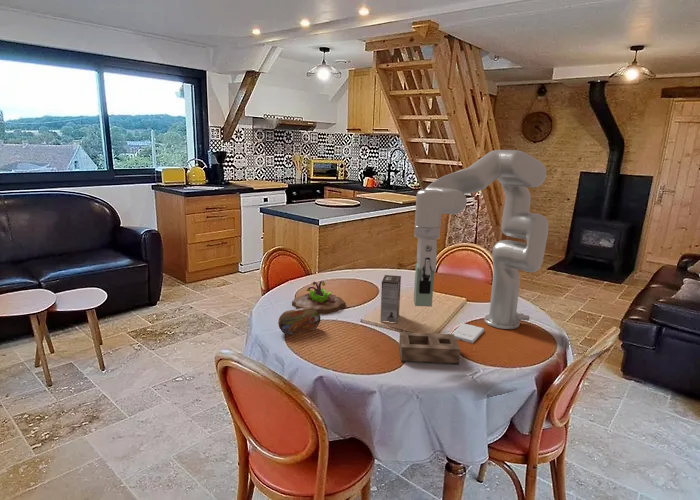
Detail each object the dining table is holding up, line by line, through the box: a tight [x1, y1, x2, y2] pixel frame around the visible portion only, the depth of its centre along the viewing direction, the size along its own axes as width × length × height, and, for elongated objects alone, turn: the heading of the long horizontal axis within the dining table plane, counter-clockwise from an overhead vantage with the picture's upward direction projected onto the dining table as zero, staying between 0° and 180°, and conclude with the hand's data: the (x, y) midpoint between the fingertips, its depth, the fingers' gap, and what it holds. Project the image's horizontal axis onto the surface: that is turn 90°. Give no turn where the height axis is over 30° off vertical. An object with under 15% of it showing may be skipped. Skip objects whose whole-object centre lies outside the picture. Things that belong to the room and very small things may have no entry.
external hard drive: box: [451, 322, 485, 344], centre depth 156 cm, size 2×8×12 cm
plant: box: [291, 280, 347, 315], centre depth 180 cm, size 20×20×11 cm
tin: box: [278, 307, 321, 336], centre depth 155 cm, size 15×3×8 cm, turn 117°
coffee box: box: [379, 274, 402, 323], centre depth 167 cm, size 9×6×16 cm
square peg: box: [413, 262, 435, 308], centre depth 135 cm, size 5×5×12 cm
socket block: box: [398, 331, 461, 366], centre depth 139 cm, size 18×11×5 cm, turn 87°
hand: (423, 289), depth 135 cm, fingers closed on square peg, 5 cm apart
